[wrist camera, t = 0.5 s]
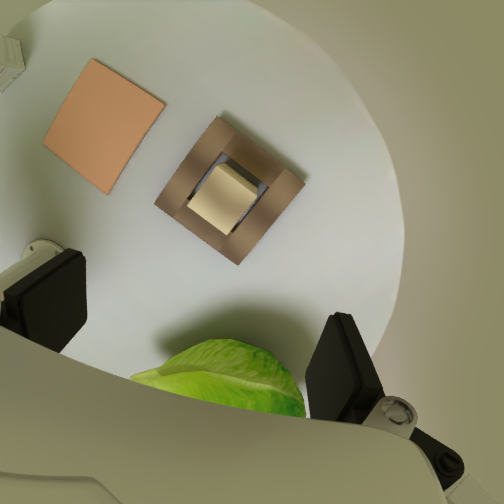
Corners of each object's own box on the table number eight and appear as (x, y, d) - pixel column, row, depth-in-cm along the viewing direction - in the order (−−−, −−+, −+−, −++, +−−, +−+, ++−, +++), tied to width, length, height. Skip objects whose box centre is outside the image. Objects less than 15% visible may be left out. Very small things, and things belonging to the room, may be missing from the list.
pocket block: (238, 260, 40) (238, 265, 39) (158, 201, 38) (153, 203, 36) (303, 182, 37) (305, 183, 35) (218, 117, 35) (216, 115, 33)
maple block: (232, 218, 39) (226, 235, 31) (201, 194, 38) (186, 205, 30) (257, 186, 37) (257, 196, 30) (225, 162, 36) (216, 165, 29)
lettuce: (147, 297, 43) (99, 372, 26) (317, 328, 44) (342, 414, 28) (146, 386, 49) (117, 460, 32) (285, 411, 50) (292, 490, 34)
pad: (108, 194, 38) (106, 195, 37) (44, 143, 35) (42, 143, 35) (166, 105, 34) (164, 105, 33) (93, 59, 31) (91, 58, 31)
